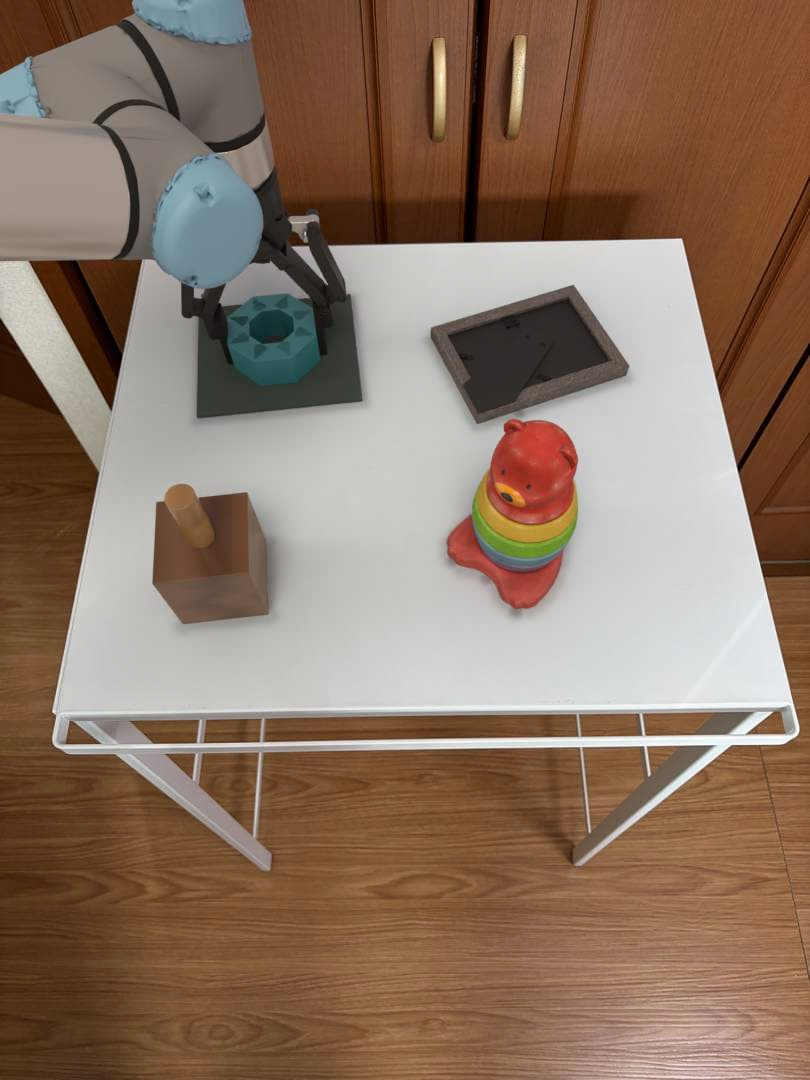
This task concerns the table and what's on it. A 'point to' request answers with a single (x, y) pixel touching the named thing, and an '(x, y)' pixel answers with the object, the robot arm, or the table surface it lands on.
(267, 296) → the ring
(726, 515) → the table surface
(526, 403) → the picture frame
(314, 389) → the mat
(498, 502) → the stacking bear
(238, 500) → the ring stand
